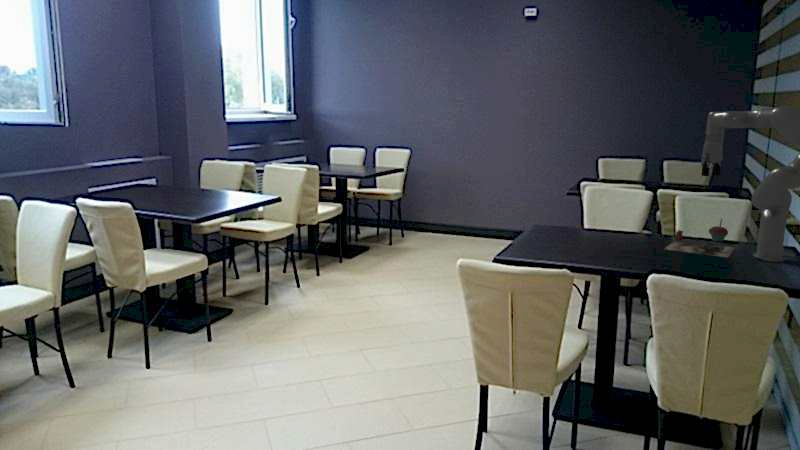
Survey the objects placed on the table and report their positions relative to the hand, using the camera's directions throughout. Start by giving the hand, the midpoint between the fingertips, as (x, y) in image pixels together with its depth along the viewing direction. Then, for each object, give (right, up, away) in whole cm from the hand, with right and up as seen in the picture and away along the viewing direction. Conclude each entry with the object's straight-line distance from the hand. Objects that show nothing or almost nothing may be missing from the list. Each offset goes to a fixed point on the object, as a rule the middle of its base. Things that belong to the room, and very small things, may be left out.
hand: (710, 175), depth 284 cm
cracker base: (-9, -35, -7) cm, 37 cm away
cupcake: (+11, -31, +15) cm, 37 cm away
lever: (-9, -33, -6) cm, 35 cm away
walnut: (-10, -35, -15) cm, 40 cm away
